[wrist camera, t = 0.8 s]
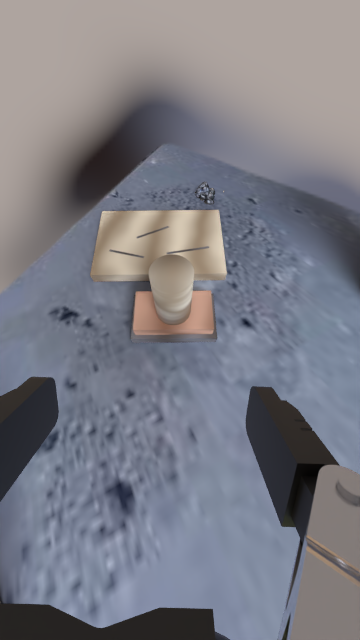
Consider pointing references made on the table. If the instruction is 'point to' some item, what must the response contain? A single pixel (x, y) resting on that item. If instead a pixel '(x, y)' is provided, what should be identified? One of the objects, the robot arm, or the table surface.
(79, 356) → the table surface
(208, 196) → the gravel pile
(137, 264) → the board
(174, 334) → the block
